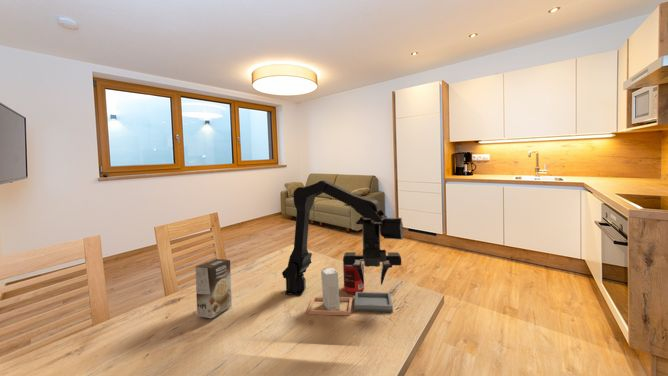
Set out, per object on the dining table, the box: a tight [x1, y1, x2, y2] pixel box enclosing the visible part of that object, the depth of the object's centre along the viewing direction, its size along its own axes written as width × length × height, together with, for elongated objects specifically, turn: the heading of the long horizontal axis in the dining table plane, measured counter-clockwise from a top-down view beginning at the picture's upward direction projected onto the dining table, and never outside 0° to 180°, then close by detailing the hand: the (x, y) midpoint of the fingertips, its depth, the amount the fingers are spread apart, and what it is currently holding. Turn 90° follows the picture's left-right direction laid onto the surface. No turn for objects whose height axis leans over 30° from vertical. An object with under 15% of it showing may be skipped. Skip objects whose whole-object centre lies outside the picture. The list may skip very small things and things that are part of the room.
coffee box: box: [195, 258, 233, 319], centre depth 90 cm, size 9×6×16 cm
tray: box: [353, 291, 394, 313], centre depth 91 cm, size 12×10×2 cm
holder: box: [306, 296, 353, 316], centre depth 91 cm, size 14×11×1 cm
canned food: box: [342, 261, 365, 295], centre depth 104 cm, size 8×8×11 cm
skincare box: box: [320, 267, 341, 311], centre depth 91 cm, size 6×4×12 cm
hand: (372, 283), depth 91 cm, fingers open, 6 cm apart
